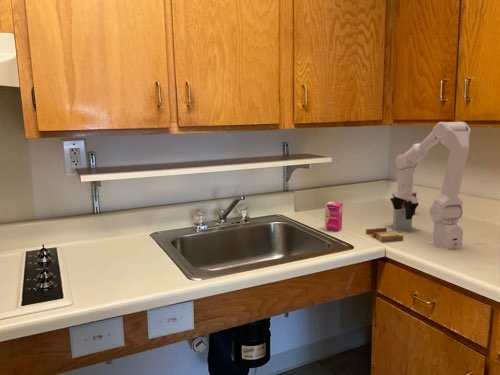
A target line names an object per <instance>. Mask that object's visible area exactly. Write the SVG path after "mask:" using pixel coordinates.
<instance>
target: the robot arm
mask: <svg viewBox="0 0 500 375" xmlns="http://www.w3.org/2000/svg"><path fill="white" fill-rule="evenodd" d="M471 131H472V130H471V128H470V127H469V124H467V122H465V121H456V122H455V121H450V122H449V121H448V122H447V121H439V122H438V123H437V124H436V125H434V126H433V127H432V131H431V132H430V133H429V135H428V136H426V138H424V139H423V141H422V142H420V143H419V142H418V143H413V145H412V146H411V147H410V149H409V150H406V151H405V153H403V154H398V155H397V156H396V159H395V165H396V166H395V167H396V168H397V169H398V171H397V173H398V174H397V187H396V188H397V189H396V190H397V191H392V192H391V197H390V198H389V199H390V201H391V204H392V206H393V211H394V210H396V209H402V204H403V203H404V206H405V211H406V219H407V220H410V219H412V220H413V214H414V211H415V212H416V209H417V208H418V206H419V200H418V197H417V196H416V197H414V196H413V195H412V190H413V187H414V184H413V183H414V173H415V171H416V169H417V167H418V162H420V161H421V160H423V158H425V157H426V156H427V154H428V151H429V150H430V149H432V147H434V146H435V145H437V144H438V143H439V142H440V143H441V144H442V145H443V146H445V147H446V148H447V149H448V150H449V154H448V159H447V164H446V168H445V172H444V173H445V174H444V178H443V181H442V187H441V191H440V194H439V195H438V196H437V197H435V198H434V199H433V203H432V205H431V206H430V208H429V215H430V218H431V219H432V222H433V234H432V241H427V243H428V244H431V245H433V246H435V247H437V248H440V249H442V250H444V251H447V250H456V249H464V247H463V238H464V237H463V235H464V231H463V228H462V227H460V226H459V225H458V223H459V220H460V219H461V218H462V217H463V212H464V210H463V204H464V201H462V199H461V198H460V197H459V194H460V190H461V186H462V181H463V176H464V172H465V168H466V164H467V159H468V154H469V151H470V142H469V141H470V140H469V139H470V137H471V136H470V135H471ZM404 200H406V201H408V202H404ZM414 215H415V214H414Z"/></svg>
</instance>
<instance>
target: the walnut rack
mask: <svg viewBox="0 0 500 375" xmlns="http://www.w3.org/2000/svg"><path fill="white" fill-rule="evenodd" d="M384 232H395V231H394V230H391V231H390V230H389V231H388V227H377V228H367V229H366V230H365V235H367V236H369V237H372V238H373V239H375V240H377V241H378V242H381V243H382V244H384V243H394V242H395V243H396V242H403V241H404V235H399V236H390V237H381V240H379V239H377V238H376V236H377V233H384Z"/></svg>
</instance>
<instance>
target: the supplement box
mask: <svg viewBox="0 0 500 375" xmlns="http://www.w3.org/2000/svg"><path fill="white" fill-rule="evenodd" d="M343 205H344V204H343V203H342V202H334V201H328V202H326V204H325V208H324V209H325V210H324V214H325V215H324V231H328V232H336V233H339V232H340V231H341V230H342V229H343V228H342V227H343V224H342V223H343Z"/></svg>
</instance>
